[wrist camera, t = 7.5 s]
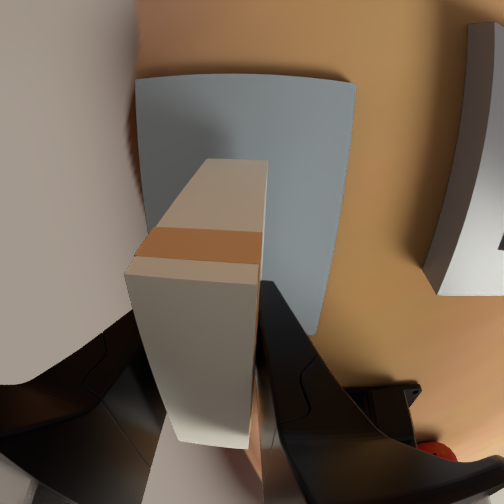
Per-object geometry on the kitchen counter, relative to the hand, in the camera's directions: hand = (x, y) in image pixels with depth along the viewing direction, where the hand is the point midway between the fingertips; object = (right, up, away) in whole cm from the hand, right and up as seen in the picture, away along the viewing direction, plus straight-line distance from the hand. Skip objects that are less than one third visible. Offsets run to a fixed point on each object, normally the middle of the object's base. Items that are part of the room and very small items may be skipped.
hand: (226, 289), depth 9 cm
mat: (0, +2, +4) cm, 5 cm away
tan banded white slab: (0, +2, +2) cm, 3 cm away
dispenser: (+13, +5, +1) cm, 14 cm away
